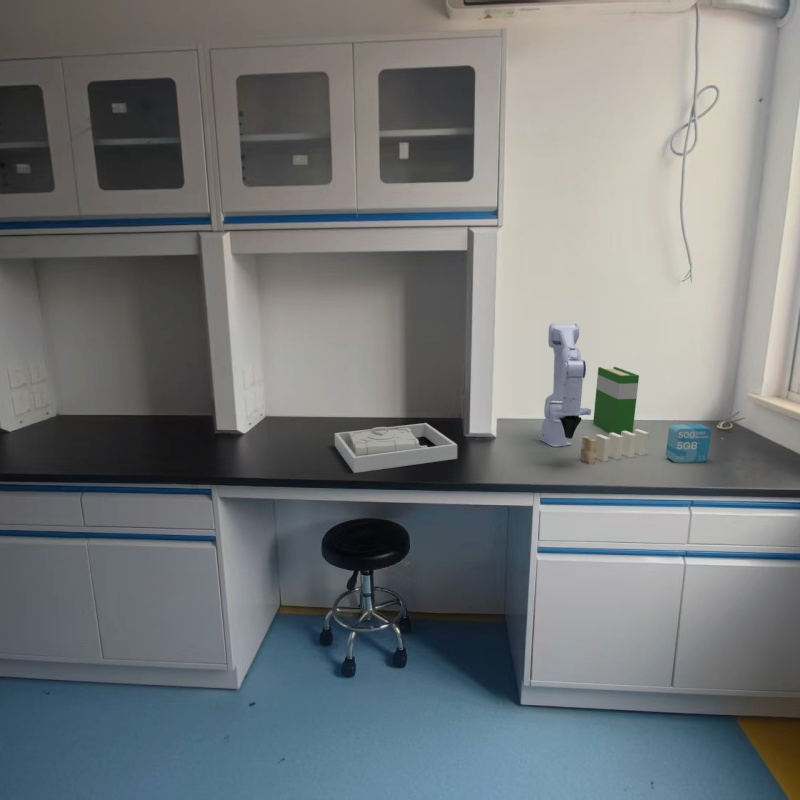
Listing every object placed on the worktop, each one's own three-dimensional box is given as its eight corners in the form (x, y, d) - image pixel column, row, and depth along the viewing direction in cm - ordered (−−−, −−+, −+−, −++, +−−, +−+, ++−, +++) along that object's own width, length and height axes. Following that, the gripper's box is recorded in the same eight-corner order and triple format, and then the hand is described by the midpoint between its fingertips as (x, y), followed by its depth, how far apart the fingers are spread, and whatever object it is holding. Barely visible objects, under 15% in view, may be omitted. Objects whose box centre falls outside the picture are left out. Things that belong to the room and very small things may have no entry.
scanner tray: (335, 446, 188) (334, 433, 187) (426, 435, 200) (426, 423, 199) (354, 472, 163) (353, 458, 162) (457, 458, 175) (457, 444, 174)
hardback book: (593, 423, 214) (598, 367, 208) (610, 423, 215) (615, 366, 209) (613, 436, 197) (620, 375, 191) (632, 436, 198) (639, 375, 192)
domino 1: (580, 458, 174) (582, 436, 172) (585, 458, 175) (587, 436, 173) (589, 463, 170) (591, 440, 168) (594, 463, 171) (596, 440, 169)
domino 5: (631, 451, 181) (633, 429, 180) (635, 450, 182) (638, 429, 180) (641, 455, 177) (644, 433, 175) (646, 454, 178) (649, 432, 176)
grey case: (434, 458, 176) (434, 437, 175) (353, 465, 171) (353, 443, 169) (421, 441, 195) (421, 422, 193) (347, 447, 189) (347, 427, 187)
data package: (671, 462, 170) (676, 428, 167) (664, 458, 175) (669, 424, 172) (707, 462, 171) (712, 428, 168) (699, 457, 175) (704, 424, 172)
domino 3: (606, 454, 178) (608, 433, 176) (611, 454, 179) (613, 432, 177) (616, 459, 174) (618, 437, 172) (621, 458, 174) (623, 436, 172)
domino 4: (619, 453, 180) (621, 431, 178) (623, 452, 180) (625, 430, 178) (629, 457, 175) (631, 435, 173) (633, 456, 176) (636, 434, 174)
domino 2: (593, 456, 176) (595, 434, 174) (598, 456, 177) (600, 434, 175) (603, 461, 172) (605, 439, 170) (608, 460, 172) (610, 438, 170)
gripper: (560, 402, 158) (557, 443, 161) (598, 398, 163) (595, 438, 166) (547, 397, 164) (544, 437, 168) (584, 393, 169) (580, 432, 172)
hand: (568, 437), depth 167 cm, fingers closed
